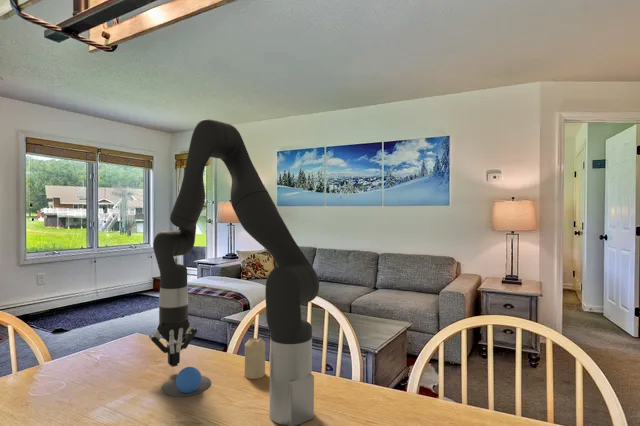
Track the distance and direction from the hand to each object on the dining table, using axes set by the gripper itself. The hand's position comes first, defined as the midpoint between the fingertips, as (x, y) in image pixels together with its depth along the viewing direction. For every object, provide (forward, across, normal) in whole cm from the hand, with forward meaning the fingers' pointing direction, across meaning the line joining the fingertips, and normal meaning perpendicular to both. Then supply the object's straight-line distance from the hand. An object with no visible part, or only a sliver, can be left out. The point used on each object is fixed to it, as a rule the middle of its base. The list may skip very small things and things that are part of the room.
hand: (173, 365), depth 109 cm
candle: (+2, +17, -15) cm, 23 cm away
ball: (-1, -1, -14) cm, 14 cm away
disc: (+2, 0, -10) cm, 10 cm away
